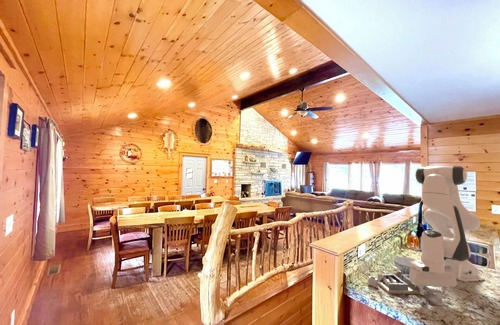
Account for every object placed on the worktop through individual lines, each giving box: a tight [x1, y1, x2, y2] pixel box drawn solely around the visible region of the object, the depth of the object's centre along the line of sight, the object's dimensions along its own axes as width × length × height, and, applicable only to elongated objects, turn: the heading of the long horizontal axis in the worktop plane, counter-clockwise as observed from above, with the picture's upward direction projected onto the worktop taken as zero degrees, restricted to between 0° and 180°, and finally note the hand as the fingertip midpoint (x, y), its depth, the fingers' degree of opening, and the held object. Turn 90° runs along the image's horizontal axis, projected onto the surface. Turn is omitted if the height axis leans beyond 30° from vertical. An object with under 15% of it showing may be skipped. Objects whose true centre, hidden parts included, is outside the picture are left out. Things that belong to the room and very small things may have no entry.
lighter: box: [368, 272, 384, 289], centre depth 114 cm, size 7×2×8 cm, turn 45°
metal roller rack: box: [377, 273, 424, 295], centre depth 114 cm, size 24×11×4 cm, turn 89°
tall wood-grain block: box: [423, 286, 443, 306], centre depth 103 cm, size 3×7×6 cm, turn 179°
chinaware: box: [393, 256, 416, 275], centre depth 129 cm, size 15×15×8 cm
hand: (432, 294), depth 103 cm, fingers open, 8 cm apart
